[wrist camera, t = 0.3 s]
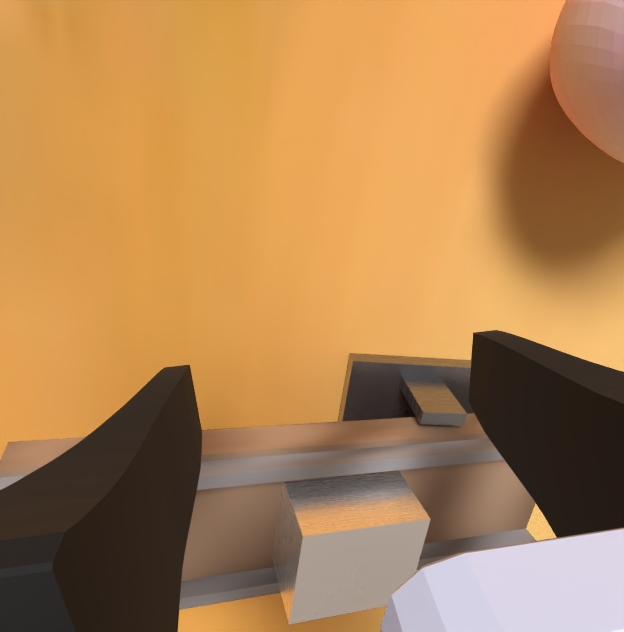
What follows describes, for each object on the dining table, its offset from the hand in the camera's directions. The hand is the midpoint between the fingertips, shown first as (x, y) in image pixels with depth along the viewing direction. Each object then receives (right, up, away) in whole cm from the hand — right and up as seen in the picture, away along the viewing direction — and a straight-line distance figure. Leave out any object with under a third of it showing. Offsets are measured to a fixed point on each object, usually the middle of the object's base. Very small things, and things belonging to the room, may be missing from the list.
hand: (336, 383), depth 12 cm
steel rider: (0, -7, +9) cm, 11 cm away
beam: (-1, -6, +10) cm, 12 cm away
